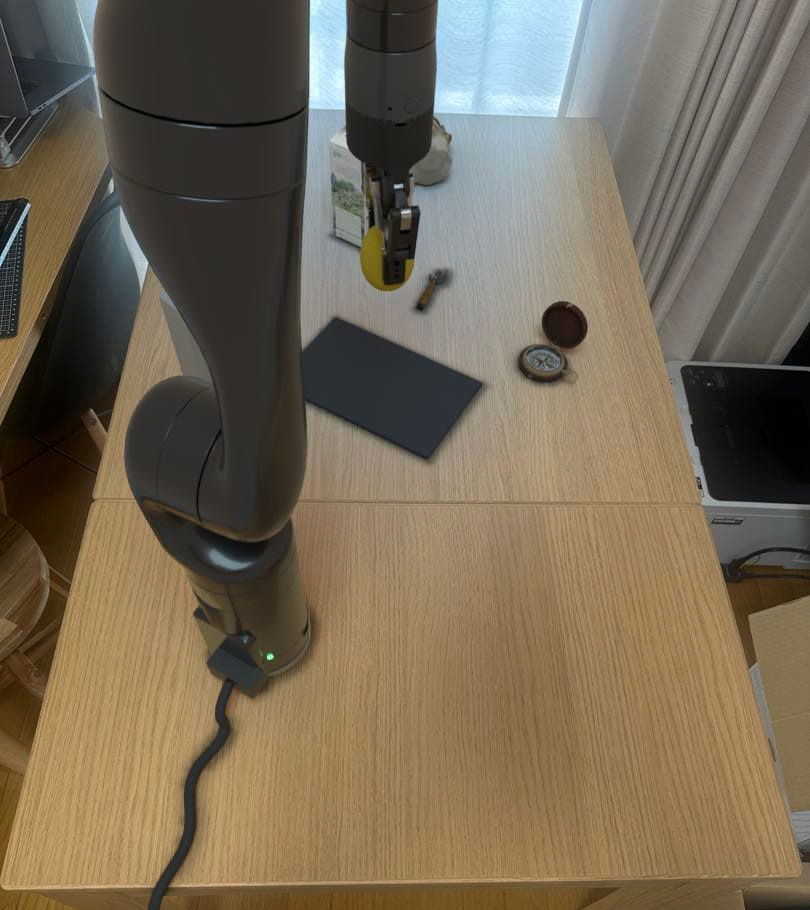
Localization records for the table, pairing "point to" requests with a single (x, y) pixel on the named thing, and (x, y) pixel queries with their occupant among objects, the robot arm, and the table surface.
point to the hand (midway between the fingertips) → (386, 262)
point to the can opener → (431, 288)
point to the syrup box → (347, 192)
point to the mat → (384, 387)
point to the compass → (555, 342)
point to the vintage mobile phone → (184, 342)
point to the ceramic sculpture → (434, 158)
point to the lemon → (378, 261)
